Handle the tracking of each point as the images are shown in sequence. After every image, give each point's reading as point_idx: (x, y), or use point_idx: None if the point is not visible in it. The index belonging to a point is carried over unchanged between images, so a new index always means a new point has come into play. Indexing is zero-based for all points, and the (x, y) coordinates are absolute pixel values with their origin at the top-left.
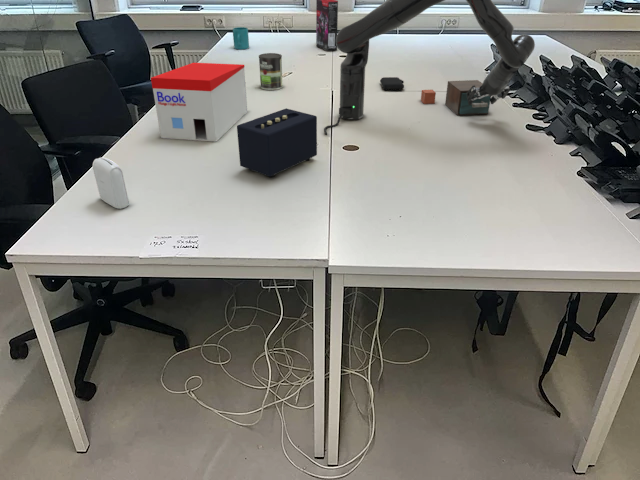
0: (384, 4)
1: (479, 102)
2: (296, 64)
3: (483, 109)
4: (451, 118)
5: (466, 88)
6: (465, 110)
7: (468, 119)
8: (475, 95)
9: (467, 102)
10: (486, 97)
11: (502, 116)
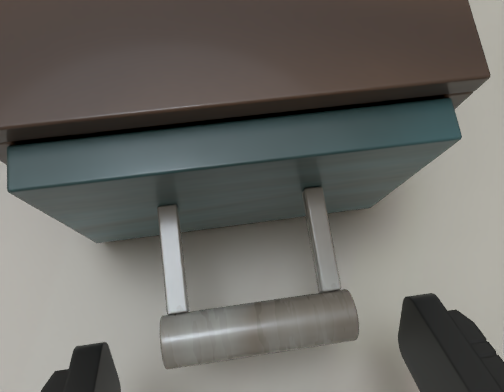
0: None
1: (285, 194)
2: None
3: (328, 205)
4: (4, 307)
5: (107, 10)
6: (140, 230)
7: (159, 337)
8: (223, 174)
9: (133, 211)
10: (377, 167)
11: (484, 248)
